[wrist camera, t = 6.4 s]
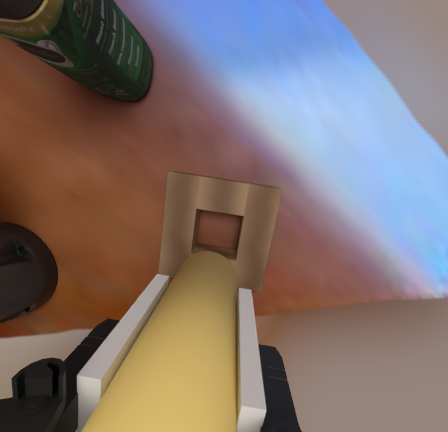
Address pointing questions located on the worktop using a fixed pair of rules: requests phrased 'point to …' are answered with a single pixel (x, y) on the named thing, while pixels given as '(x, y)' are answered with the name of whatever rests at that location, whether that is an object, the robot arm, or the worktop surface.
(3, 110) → the worktop surface
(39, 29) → the coffee jar
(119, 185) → the worktop surface
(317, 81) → the worktop surface
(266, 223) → the socket block
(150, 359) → the peg
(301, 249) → the worktop surface
